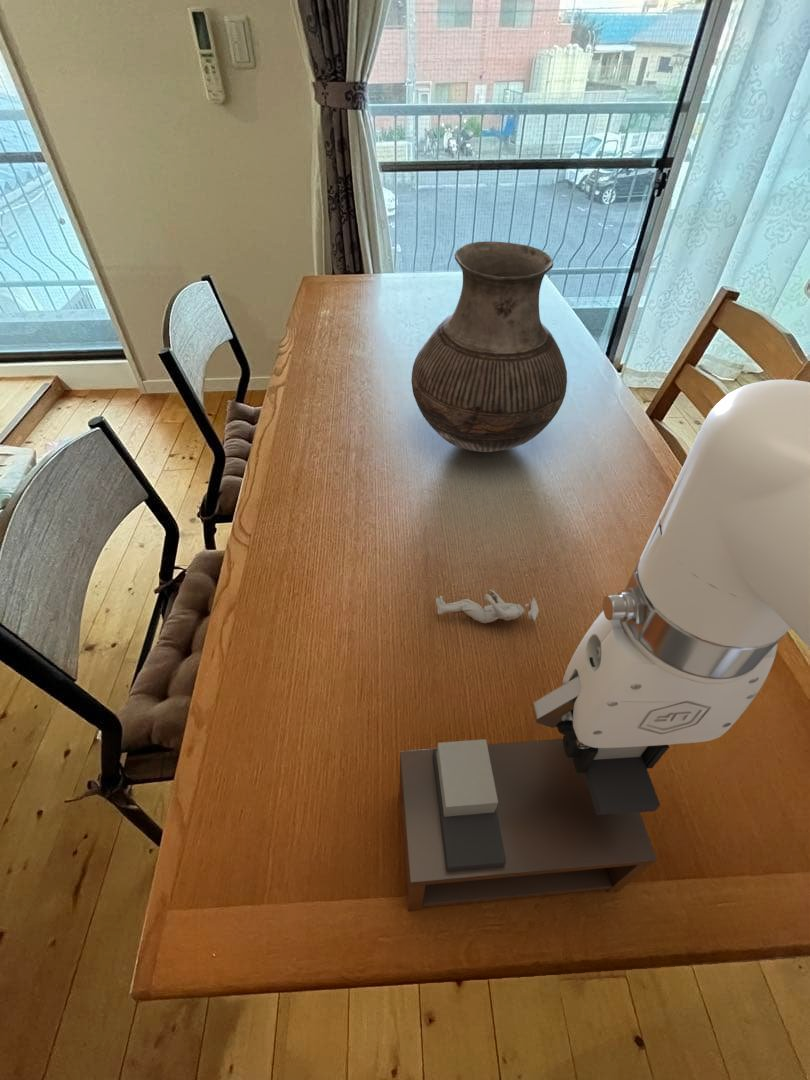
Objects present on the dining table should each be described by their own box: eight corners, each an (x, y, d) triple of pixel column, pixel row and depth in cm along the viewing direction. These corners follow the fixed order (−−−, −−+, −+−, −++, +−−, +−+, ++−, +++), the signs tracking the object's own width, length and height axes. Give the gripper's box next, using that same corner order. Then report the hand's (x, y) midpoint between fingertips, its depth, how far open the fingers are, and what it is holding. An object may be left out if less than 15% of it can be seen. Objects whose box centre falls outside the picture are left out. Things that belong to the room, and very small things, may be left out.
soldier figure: (442, 593, 74) (533, 577, 71) (449, 628, 74) (540, 614, 71) (431, 599, 67) (532, 582, 64) (439, 639, 66) (540, 624, 64)
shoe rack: (619, 891, 50) (657, 860, 42) (407, 911, 48) (410, 883, 41) (585, 777, 56) (612, 734, 49) (399, 793, 55) (399, 750, 48)
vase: (435, 390, 108) (445, 219, 86) (562, 416, 102) (606, 239, 81) (389, 463, 92) (387, 275, 70) (536, 499, 86) (583, 306, 64)
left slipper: (504, 866, 42) (510, 853, 39) (446, 872, 42) (449, 859, 39) (482, 750, 48) (487, 732, 46) (432, 754, 48) (434, 736, 45)
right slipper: (655, 811, 40) (671, 794, 38) (596, 815, 40) (608, 798, 38) (614, 698, 47) (626, 677, 44) (563, 701, 46) (572, 680, 44)
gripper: (563, 678, 27) (509, 809, 40) (893, 660, 28) (735, 794, 41) (529, 563, 32) (491, 712, 45) (808, 551, 33) (691, 701, 46)
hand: (608, 750), depth 43 cm, fingers closed on right slipper, 4 cm apart
